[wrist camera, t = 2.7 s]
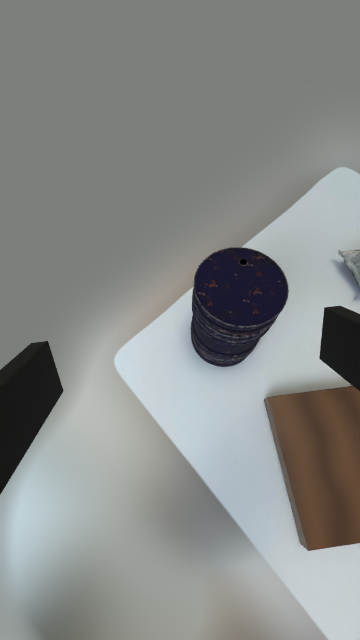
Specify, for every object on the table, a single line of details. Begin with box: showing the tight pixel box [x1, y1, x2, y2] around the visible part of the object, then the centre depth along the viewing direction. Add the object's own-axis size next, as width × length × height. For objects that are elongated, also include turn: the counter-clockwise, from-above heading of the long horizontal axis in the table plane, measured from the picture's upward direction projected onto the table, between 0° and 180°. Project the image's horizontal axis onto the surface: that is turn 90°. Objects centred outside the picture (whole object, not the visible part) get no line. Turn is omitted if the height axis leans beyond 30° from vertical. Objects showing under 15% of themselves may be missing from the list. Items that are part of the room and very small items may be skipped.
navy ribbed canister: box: [191, 247, 289, 367], centre depth 33 cm, size 10×10×15 cm
